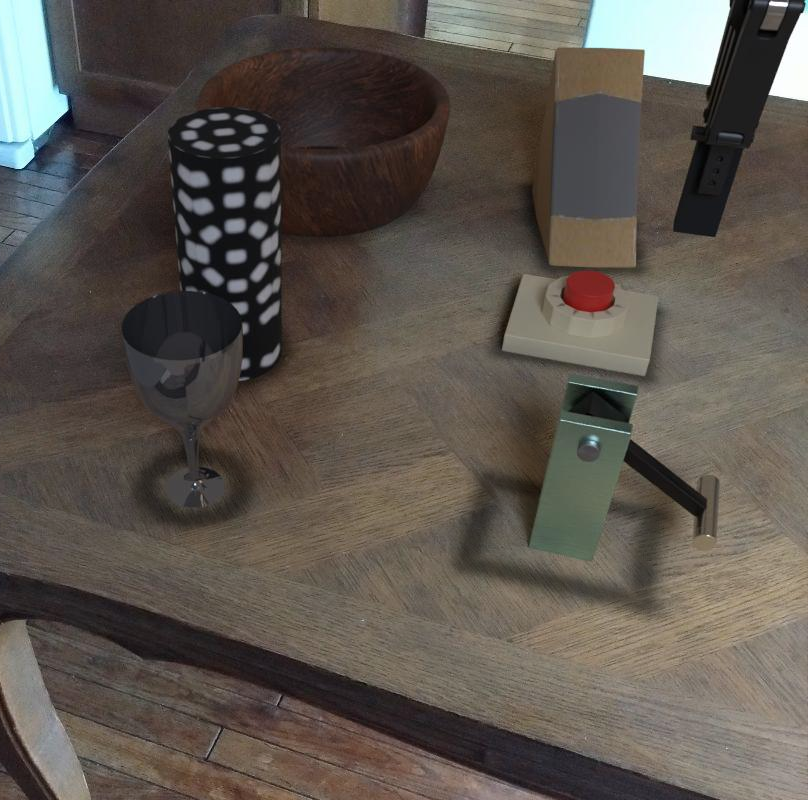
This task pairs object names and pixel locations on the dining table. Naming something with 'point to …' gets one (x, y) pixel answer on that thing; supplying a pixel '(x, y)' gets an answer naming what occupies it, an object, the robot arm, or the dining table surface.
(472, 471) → the dining table surface
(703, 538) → the lever
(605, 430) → the bracket
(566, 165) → the sandwich container
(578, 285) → the button
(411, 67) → the wooden bowl
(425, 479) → the dining table surface
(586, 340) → the block
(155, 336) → the wine glass
